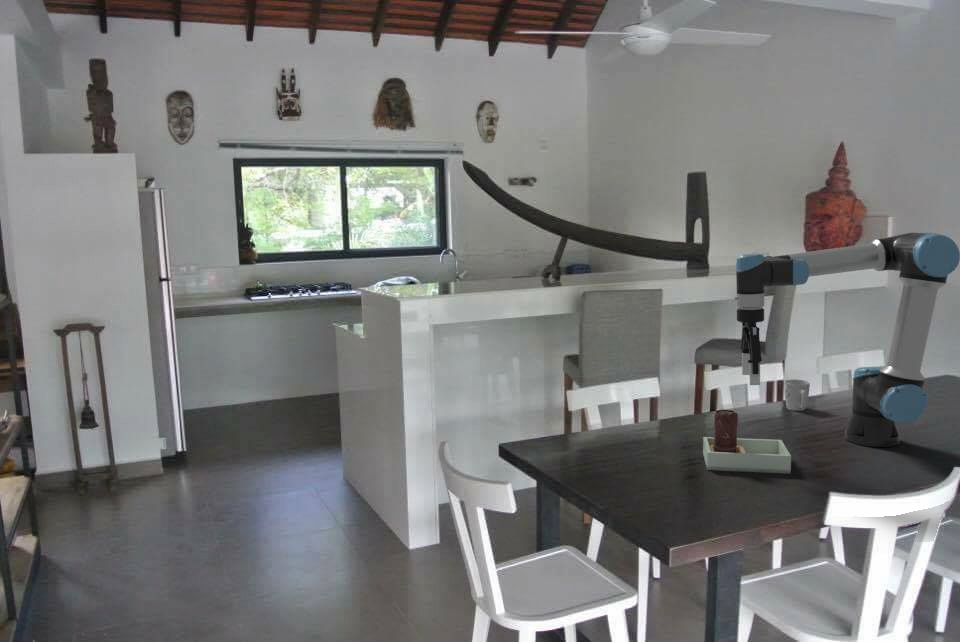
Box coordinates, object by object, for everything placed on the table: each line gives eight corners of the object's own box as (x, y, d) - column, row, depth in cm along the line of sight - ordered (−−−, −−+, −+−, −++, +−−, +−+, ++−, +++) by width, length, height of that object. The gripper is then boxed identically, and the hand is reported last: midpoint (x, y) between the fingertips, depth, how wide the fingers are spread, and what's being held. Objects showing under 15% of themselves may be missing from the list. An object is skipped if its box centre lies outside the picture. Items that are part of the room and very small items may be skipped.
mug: (816, 413, 264) (817, 386, 262) (792, 414, 264) (793, 386, 262) (802, 405, 275) (803, 379, 273) (779, 406, 275) (780, 379, 274)
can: (738, 462, 212) (739, 414, 210) (715, 461, 213) (715, 414, 211) (735, 456, 217) (736, 409, 215) (713, 455, 219) (713, 408, 217)
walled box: (780, 456, 219) (781, 439, 219) (790, 473, 205) (791, 456, 204) (703, 453, 224) (703, 437, 223) (707, 469, 209) (707, 452, 209)
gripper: (730, 302, 228) (731, 370, 231) (743, 314, 204) (744, 389, 207) (756, 302, 227) (756, 370, 230) (772, 313, 202) (772, 389, 205)
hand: (750, 379), depth 218 cm, fingers open, 13 cm apart
